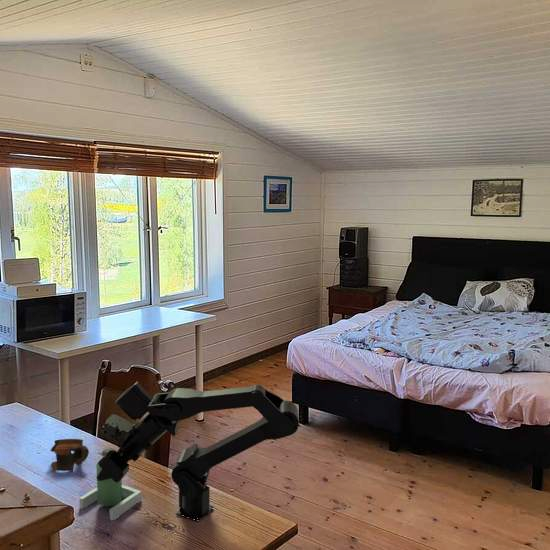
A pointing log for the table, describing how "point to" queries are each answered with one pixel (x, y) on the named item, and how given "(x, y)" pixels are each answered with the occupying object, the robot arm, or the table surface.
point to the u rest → (131, 499)
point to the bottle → (108, 488)
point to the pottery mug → (68, 454)
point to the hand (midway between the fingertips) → (103, 472)
